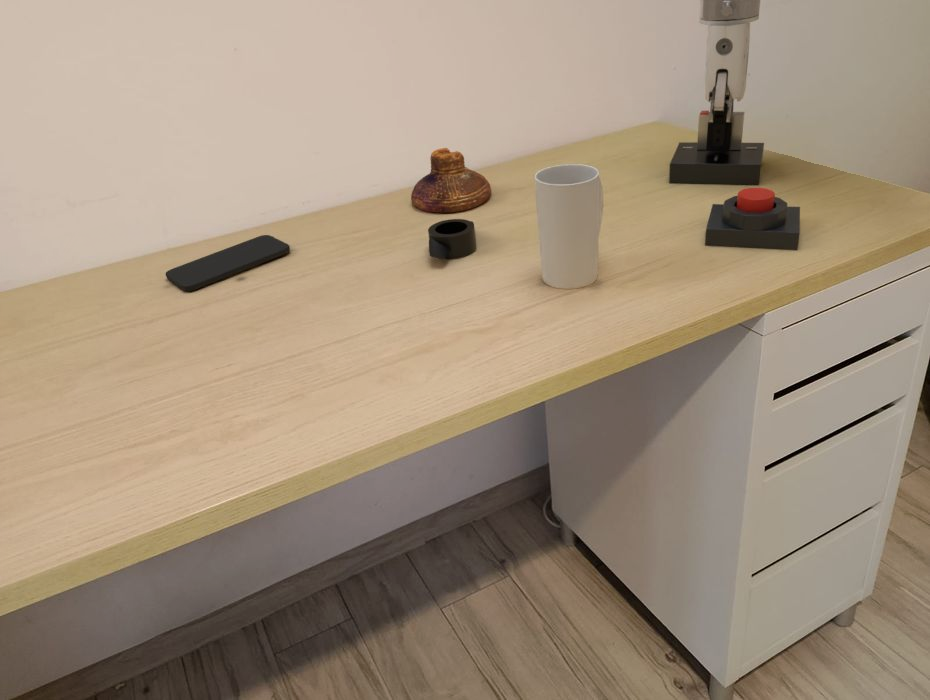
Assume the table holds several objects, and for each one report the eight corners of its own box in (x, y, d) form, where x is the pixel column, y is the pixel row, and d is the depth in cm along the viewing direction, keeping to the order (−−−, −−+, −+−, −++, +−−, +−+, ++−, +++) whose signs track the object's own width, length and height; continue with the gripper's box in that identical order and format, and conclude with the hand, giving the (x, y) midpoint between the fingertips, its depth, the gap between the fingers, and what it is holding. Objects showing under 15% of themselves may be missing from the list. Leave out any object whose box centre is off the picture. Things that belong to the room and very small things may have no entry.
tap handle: (741, 146, 108) (744, 109, 105) (740, 150, 107) (743, 112, 104) (698, 146, 110) (700, 110, 107) (697, 149, 109) (699, 113, 106)
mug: (577, 296, 80) (574, 188, 74) (527, 282, 84) (521, 179, 78) (627, 261, 86) (628, 159, 80) (578, 250, 90) (576, 152, 84)
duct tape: (503, 245, 94) (501, 223, 93) (438, 271, 89) (435, 248, 88) (467, 229, 100) (465, 209, 98) (404, 253, 95) (401, 232, 93)
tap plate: (762, 158, 112) (764, 137, 110) (758, 186, 102) (761, 163, 101) (680, 157, 116) (681, 137, 114) (669, 183, 107) (669, 162, 105)
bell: (405, 194, 114) (398, 147, 111) (481, 181, 116) (477, 134, 112) (419, 220, 104) (412, 169, 101) (501, 205, 106) (497, 154, 102)
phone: (162, 272, 96) (266, 233, 103) (164, 278, 96) (267, 238, 104) (184, 288, 91) (292, 246, 98) (187, 294, 91) (294, 251, 99)
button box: (797, 223, 90) (802, 192, 88) (797, 250, 84) (801, 217, 82) (711, 220, 94) (713, 189, 92) (704, 246, 88) (707, 214, 86)
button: (773, 202, 88) (775, 187, 87) (772, 214, 85) (774, 200, 84) (737, 201, 89) (739, 186, 88) (735, 213, 86) (736, 198, 85)
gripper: (756, 17, 91) (743, 164, 101) (762, -3, 104) (750, 130, 113) (692, 20, 94) (685, 164, 103) (706, 1, 107) (698, 130, 116)
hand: (719, 144), depth 108 cm, fingers open, 3 cm apart
